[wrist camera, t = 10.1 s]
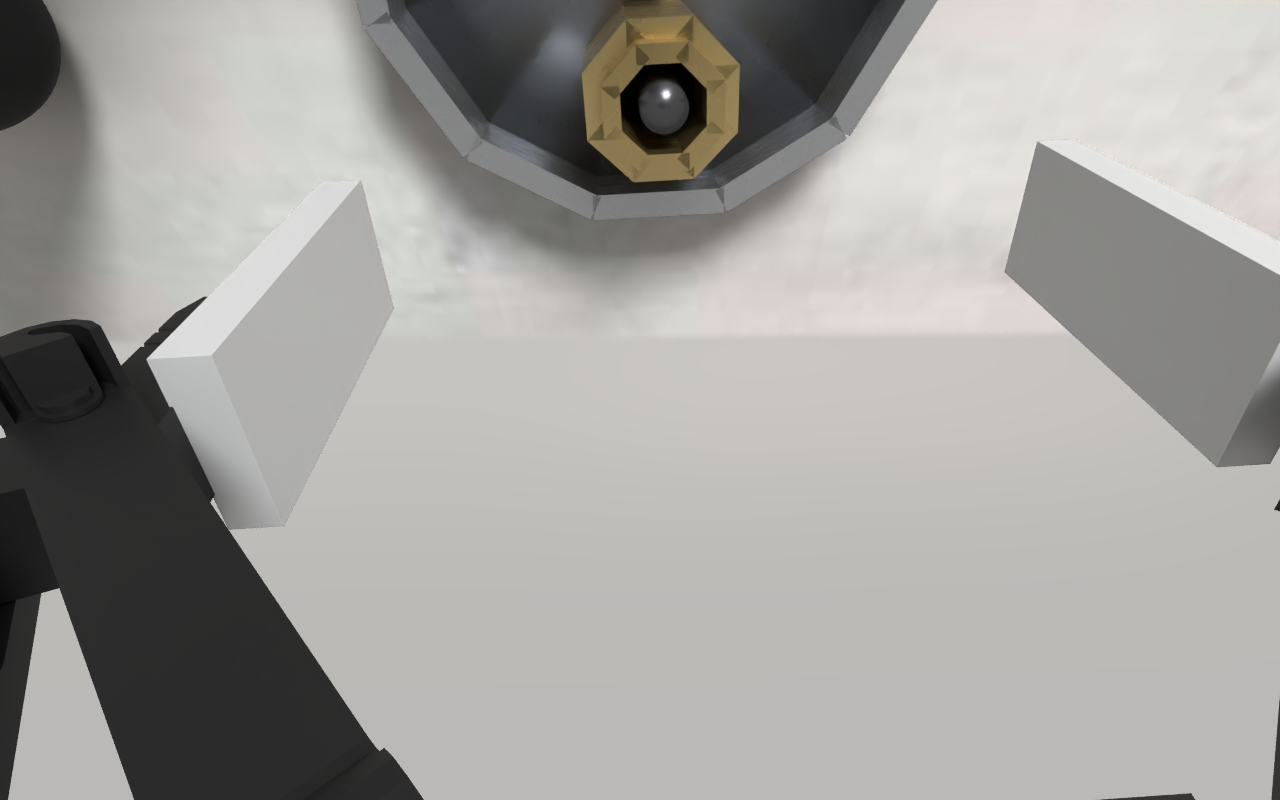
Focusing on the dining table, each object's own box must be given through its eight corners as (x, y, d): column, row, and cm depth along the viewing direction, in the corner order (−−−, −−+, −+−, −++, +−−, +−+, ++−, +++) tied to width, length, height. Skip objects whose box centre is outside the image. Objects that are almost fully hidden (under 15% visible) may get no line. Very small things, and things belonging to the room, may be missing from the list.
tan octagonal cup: (592, 146, 31) (590, 193, 26) (580, 4, 28) (576, 25, 23) (718, 139, 31) (741, 185, 26) (720, -4, 28) (746, 16, 23)
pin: (625, 78, 30) (631, 119, 24) (643, 39, 30) (654, 73, 24) (660, 96, 31) (673, 142, 25) (678, 59, 30) (698, 97, 24)
